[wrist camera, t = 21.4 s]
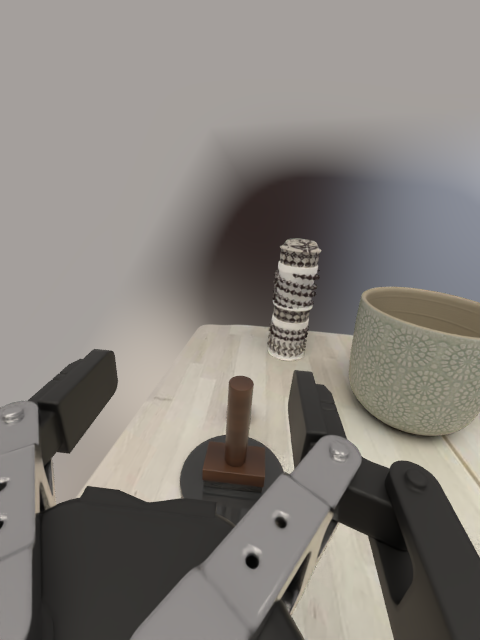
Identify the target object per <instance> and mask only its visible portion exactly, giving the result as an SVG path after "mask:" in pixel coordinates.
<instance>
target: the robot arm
mask: <svg viewBox="0 0 480 640" xmlns="http://www.w3.org/2000/svg"><path fill="white" fill-rule="evenodd" d="M117 383H118V378H117V370H116V362H115V355H114V352H113V351H109V350H99V349H94V350H92V351H91V352H90V353H89V354H88V355H87V356H86V357H85V358H84V359H79V360H77V361H75V362H73V363H71V364H69V365H68V366H67V367H66V368H64V369H63V370H62V371H61V372H60V374H58V375H57V376H56V377H54V378H53V380H51V381H50V382H48V383H47V384H46V385H45V386H44V387H43V388H42V389H40V390H39V391H38V392H37V393H36V394H35V395H34V396H33V397H32V398H30V399H29V400H28V401H19V402H14V403H10V404H8V405H5V406H3V407H1V408H0V640H304V638H303V636H302V634H301V633H300V631H299V629H298V627H297V626H296V624H295V622H294V620H293V618H292V617H291V615H292V614H293V612H294V610H295V608H296V606H297V604H298V602H299V601H300V599H301V597H302V595H303V593H304V591H305V589H306V587H307V585H308V583H309V580H310V578H311V576H312V573H313V571H314V569H315V567H316V565H317V563H318V561H319V560H320V558H321V556H322V554H323V552H324V551H325V549H326V547H327V545H328V543H329V541H330V540H331V538H332V536H333V534H334V532H335V531H336V529H337V527H338V525H339V523H342V524H344V525H346V526H348V527H351V528H353V529H355V530H357V531H359V532H361V533H364V534H366V535H368V537H369V541H370V545H371V549H372V553H373V557H374V561H375V565H376V569H377V573H378V577H379V581H380V585H381V589H382V593H383V597H384V601H385V605H386V609H387V613H388V617H389V621H390V625H391V629H392V633H393V637H394V640H480V557H479V556H478V554H477V552H476V550H475V548H474V546H473V545H472V543H471V541H470V539H469V537H468V535H467V534H466V532H465V530H464V528H463V526H462V524H461V522H460V521H459V519H458V517H457V515H456V513H455V511H454V510H453V508H452V506H451V504H450V502H449V500H448V498H447V497H446V495H445V493H444V491H443V489H442V487H441V486H440V484H439V482H438V481H437V480H436V478H435V477H434V476H433V475H432V474H431V473H430V472H428V471H427V470H426V469H424V468H423V467H421V466H419V465H417V464H415V463H412V462H409V461H396V462H394V463H393V464H392V465H391V467H390V469H389V468H387V467H384V466H381V465H379V464H376V463H373V462H371V461H369V460H367V459H365V458H363V457H362V456H361V454H360V452H359V450H358V449H357V447H356V446H355V445H354V444H353V443H351V442H350V441H349V440H347V438H346V435H345V432H344V429H343V426H342V423H341V420H340V417H339V414H338V412H337V408H336V405H335V404H334V399H333V396H332V393H331V392H330V391H329V390H328V389H327V388H326V387H325V386H324V385H320V384H315V380H314V376H313V373H312V372H308V371H298V370H295V371H294V373H293V379H292V384H291V390H290V395H289V402H288V415H289V424H290V433H291V442H292V451H293V460H294V470H293V472H292V473H291V474H287V473H286V472H284V473H282V474H281V475H280V476H279V477H278V478H277V479H276V480H275V482H274V483H273V484H272V485H271V486H270V487H269V488H268V490H267V491H266V492H265V493H264V494H263V495H262V496H261V498H260V499H259V500H258V501H257V502H256V503H255V504H254V506H253V507H252V508H251V509H250V510H249V511H248V512H247V514H246V515H245V516H244V517H243V518H242V519H241V520H240V522H239V523H238V524H237V525H234V524H233V523H232V522H231V521H229V520H228V519H226V518H224V517H223V516H221V515H218V514H216V508H217V502H212V501H204V500H196V499H188V498H181V499H174V500H166V501H158V502H145V501H143V500H141V499H138V498H136V497H134V496H131V495H129V494H127V493H125V492H122V491H120V490H115V489H107V488H99V487H91V486H87V487H86V489H85V491H84V492H83V494H82V496H81V497H80V498H76V499H72V500H68V501H65V502H62V503H59V504H57V505H56V498H55V484H54V469H53V461H52V457H53V456H54V454H55V453H56V452H61V453H70V452H71V451H72V450H73V448H74V447H75V445H76V444H77V443H78V441H79V440H80V438H81V437H82V436H83V435H84V433H85V432H86V430H87V429H88V428H89V427H90V425H91V424H92V423H93V421H94V420H95V419H96V417H97V416H98V415H99V413H100V412H101V411H102V409H103V408H104V407H105V405H106V404H107V403H108V401H109V400H110V399H111V397H112V396H113V395H114V393H115V391H116V388H117Z"/></svg>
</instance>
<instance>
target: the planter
mask: <svg viewBox="0 0 480 640" xmlns="http://www.w3.org/2000/svg"><path fill="white" fill-rule="evenodd" d="M349 380H350V384H351V388H352V390H353V392H354V394H355V396H356V397H357V399H358V400H359V402H360V403H361V404H362V405H363V406H364V407H365V408H366V409H367V410H368V411H369V412H370V413H371V414H372V415H373V416H375V417H376V418H378V419H379V420H381V421H382V422H384V423H386V424H387V425H389V426H391V427H394V428H396V429H399V430H401V431H405V432H408V433H412V434H418V435H426V436H438V435H446V434H451V433H454V432H457V431H459V430H461V429H463V428H464V427H466V426H467V425H469V424H470V423H471V422H472V421H473V420H474V419H475V417H476V416H477V415H478V414H479V412H480V303H479V302H475V301H472V300H468V299H465V298H461V297H458V296H454V295H449V294H445V293H440V292H435V291H429V290H423V289H415V288H405V287H378V288H373V289H369V290H367V291H365V292H364V293H363V294H362V296H361V300H360V304H359V308H358V313H357V318H356V323H355V329H354V335H353V342H352V348H351V355H350V365H349Z"/></svg>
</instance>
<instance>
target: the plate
mask: <svg viewBox="0 0 480 640" xmlns="http://www.w3.org/2000/svg"><path fill="white" fill-rule="evenodd" d="M209 441H213V442H222V443H226V435H222V436H217V437H214V438H211V439H209V440H207V441H205V442H203V443H201V444H200V445H199V446H197V447H196V448H195V449H194V450H193V451H192V452H191V453H190V455H189V456H188V457H187V459H186V461H185V463H184V465H183V467H182V471H181V476H180V489H181V495H182V498H188V499H196V500H204V501H212V502H217V508H216V514H218V515H221V516H223V517H224V518H226V519H228V520H229V521H231V522H232V523H233V524H234V525H237V524H238V523H239V522H240V520H241V519H242V518H243V517H244V516H245V515H246V514H247V512H248V511H249V510H250V509H251V508H252V507H253V506H254V504H255V503H256V502H257V501H258V500H259V499H260V498H261V496H262V495H263V494H264V493H265V492H266V491H267V490H268V488H269V487H270V486H271V485H272V484H273V483H274V482H275V480H276V479H277V478H278V477H279V476H280V475H281V474H282V473H284V472H283V469H282V466H281V464H280V462H279V460H278V459H277V458H276V456H275V455H274V454H273V453H272V451H271V450H270V449H268V448H267V447H266V446H265V445H263V444H262V443H260V442H258V441H256V440H254V439H252V438H249V437H248V446H257V447H265V481H264V487H263V488H262V493H255V492H247V491H239V490H231V489H223V488H214V487H206V486H203V480H202V473H203V465H204V461H205V457H206V452H207V448H208V444H209Z"/></svg>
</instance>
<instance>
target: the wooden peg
mask: <svg viewBox="0 0 480 640" xmlns="http://www.w3.org/2000/svg"><path fill="white" fill-rule="evenodd" d="M253 385H254V384H253V381H252V380H251V379H250V378H248V377H245V376H235V377H233V378H231V379H230V381H229V391H228V408H227V425H226V443H222V442H213V441H209V444H208V448H207V452H206V457H205V461H204V465H203V473H202V480H203V486H206V487H214V488H223V489H231V490H239V491H247V492H255V493H262V488H263V487H264V481H265V447H257V446H248V435H249V425H250V415H251V405H252V395H253Z"/></svg>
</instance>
